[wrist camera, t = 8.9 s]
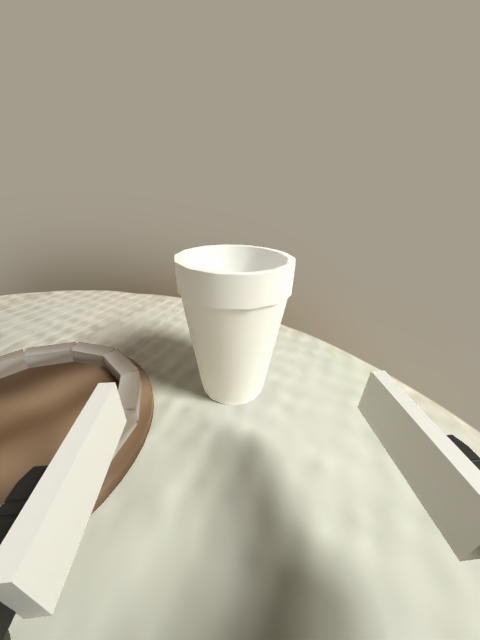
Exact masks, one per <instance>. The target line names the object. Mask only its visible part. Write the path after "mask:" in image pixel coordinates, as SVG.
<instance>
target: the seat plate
mask: <svg viewBox="0 0 480 640" xmlns="http://www.w3.org/2000/svg"><path fill="white" fill-rule="evenodd" d="M111 382H115V383H116V386H117V390H118V393H119V396H120V400H121V403H122V406H123V410H124V413H125V417H126V420H127V422H126V424H125V427H124V429H123V432H122V435H121V437H120V440H119V442H118V445H117V448H116V450H115V453H114V455H113V458H112V461H111V463H110V466H109V469H108V471H107V474H106V476H105V479H104V482H103V484H102V487H101V489H100V492H99V495H98V497H97V500H96V502H95V505H94V508H93V510H92V513H93V512H94V511H95V510H96V509H97V508H98V507H99V506H100V505H101V504H102V503H103V502H104V501H105V500H106V499H107V497H108V496H109V495H110V494H111V492H112V491H113V490H114V489H115V488H116V486H117V485H118V484H119V483H120V482H121V480H122V479H123V477H124V476H125V474H126V473H127V472H128V470H129V469H130V467H131V466H132V464H133V463H134V461H135V459H136V458H137V456H138V454H139V452H140V450H141V448H142V447H143V445H144V442H145V440H146V437H147V435H148V432H149V429H150V425H151V422H152V418H153V408H154V402H153V393H152V388H151V385H150V381H149V378H148V377H147V375H146V373H145V371H144V370H143V369H142V368H141V367H140V366H139V365H138V364H137V363H136V362H134V361H133V360H131V359H129V358H127V357H126V356H124V355H123V354H122V353H121V352H120V351H119V350H118V349H117V350H115V348H112V347H106V346H100V345H94V344H89V343H83V342H79V343H77V344H76V342H72V343H64V344H56V345H48V346H40V347H32V348H27V349H26V350H25V352H23V350H22V349H21V350H18V351H15V352H12V353H9V354H6V355H3V356H0V507H1V505H2V504H4V503H5V499H6V498H7V496H8V495H9V494H10V492H11V491H12V489H13V488H14V486H15V485H16V483H17V482H18V481H19V480H20V479H21V478H22V477H23V476H24V475H25V474H26V473H27V472H28V471H29V470H31V469H32V468H33V467H34V466H46V465H49V464H50V462H51V461H52V459H53V457H54V456H55V454H56V452H57V451H58V449H59V447H60V446H61V444H62V443H63V441H64V439H65V438H66V436H67V434H68V433H69V431H70V429H71V428H72V426H73V424H74V423H75V421H76V419H77V418H78V416H79V415H80V413H81V411H82V410H83V408H84V406H85V405H86V403H87V401H88V400H89V398H90V396H91V395H92V393H93V391H94V390H95V388H96V387H97V385H98V383H111ZM92 513H91V514H92Z"/></svg>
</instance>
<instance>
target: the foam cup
mask: <svg viewBox="0 0 480 640" xmlns="http://www.w3.org/2000/svg"><path fill="white" fill-rule="evenodd" d="M294 270H295V258H294V257H293V256H291V255H289V254H287V253H285V252H282V251H278V250H275V249H271V248H266V247H257V246H248V245H212V246H201V247H195V248H191V249H185V250H183V251H181V252H179V253H177V254H175V271H176V281H177V290H178V293H179V294H180V295H181V297H182V301H183V306H184V310H185V314H186V318H187V322H188V327H189V331H190V335H191V339H192V343H193V348H194V352H195V356H196V360H197V364H198V369H199V373H200V377H201V381H202V385H203V387H204V391H205V392H206V394H207V395H208V396H209V397H210V398H211V399H212V400H214V401H217V402H219V403H222V404H224V405H241V404H244V403H246V402H249V401H252V400H254V399H255V398H256V396H257V395H258V394H259V393H260V392H261V390H262V387H263V384H264V381H265V377H266V373H267V370H268V366H269V363H270V359H271V356H272V352H273V348H274V345H275V341H276V338H277V334H278V331H279V327H280V323H281V320H282V316H283V312H284V309H285V305H286V302H287V298H288V297H289V296H291V292H292V284H293V278H294Z"/></svg>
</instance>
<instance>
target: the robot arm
mask: <svg viewBox="0 0 480 640" xmlns="http://www.w3.org/2000/svg"><path fill="white" fill-rule="evenodd" d="M358 409H359V410H360V412H361V413H362V415H363V416H364V418H365V419H366V421H367V422H368V424H369V425H370V427H371V428H372V430H373V431H374V433H375V434H376V436H377V437H378V439H379V440H380V442H381V443H382V445H383V446H384V448H385V449H386V451H387V452H388V454H389V455H390V457H391V458H392V460H393V461H394V463H395V464H396V466H397V467H398V469H399V470H400V472H401V473H402V475H403V476H404V478H405V479H406V481H407V482H408V484H409V485H410V487H411V488H412V490H413V491H414V493H415V494H416V496H417V497H418V499H419V501H420V502H421V504H422V505H423V507H424V508H425V510H426V511H427V513H428V514H429V516H430V517H431V519H432V520H433V522H434V523H435V525H436V526H437V528H438V529H439V531H440V532H441V534H442V535H443V537H444V538H445V540H446V541H447V543H448V544H449V546H450V547H451V549H452V550H453V552H454V553H455V555H456V556H457V558H458V559H459V561H465V560H473V559H480V458H479V457H478V456H477V455H476V454H475V453H474V452H473V451H472V450H471V449H470V448H469V447H468V446H467V445H466V444H464V443H463V442H462V441H460V440H459V439H457V438H456V437H454V436H453V435H445V433H444V432H443V431H442V430H441V429H440V428H439V427H438V426H437V425H436V424H435V423H434V422H433V421H432V420H431V419H430V418H429V417H428V416H427V415H426V414H425V412H424V411H423V410H422V409H421V408H420V407H419V406H418V405H417V404H416V403H415V402H414V401H413V400H412V399H411V398H410V397H409V396H408V395H407V394H406V393H405V391H404V390H403V389H402V388H401V387H400V386H399V385H398V384H397V383H396V382H395V381H394V380H393V379H392V378H391V377H390V376H389V375H388V374H387V373H386V372H385V371H371V373H370V376H369V379H368V381H367V384H366V387H365V389H364V392H363V394H362V397H361V400H360V402H359V405H358ZM126 422H127V420H126V417H125V413H124V410H123V406H122V403H121V400H120V396H119V393H118V390H117V386H116V383H115V382H111V383H98V385H97V387H96V388H95V390H94V391H93V393H92V395H91V396H90V398H89V400H88V401H87V403H86V405H85V406H84V408H83V410H82V411H81V413H80V415H79V416H78V418H77V419H76V421H75V423H74V424H73V426H72V428H71V429H70V431H69V433H68V434H67V436H66V438H65V439H64V441H63V443H62V444H61V446H60V447H59V449H58V451H57V452H56V454H55V456H54V457H53V459H52V461H51V462H50V464H49V465H46V466H34V467H33V468H32V469H31V470H29V471H28V472H27V473H26V474H25V475H24V476H23V477H22V478H21V479H20V480H19V481H18V482H17V483H16V485H15V486H14V488H13V489H12V491H11V492H10V494H9V495H8V496H7V498H6V499H5V503H4V504H2V505H1V507H0V640H11V639H10V634H9V631H8V628H9V626H10V624H11V622H12V620H13V617H14V615H15V613H16V614H17V615H19V616H20V617H22V618H23V619H26V618H34V617H41V616H49V615H53V612H54V609H55V607H56V604H57V602H58V599H59V596H60V594H61V591H62V589H63V586H64V583H65V581H66V578H67V575H68V573H69V570H70V568H71V565H72V562H73V560H74V557H75V555H76V552H77V549H78V547H79V544H80V542H81V539H82V536H83V534H84V531H85V529H86V526H87V523H88V521H89V518H90V515H91V513H92V510H93V508H94V505H95V502H96V500H97V497H98V495H99V492H100V489H101V487H102V484H103V482H104V479H105V476H106V474H107V471H108V469H109V466H110V463H111V461H112V458H113V455H114V453H115V450H116V448H117V445H118V442H119V440H120V437H121V435H122V432H123V429H124V427H125V424H126Z"/></svg>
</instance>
